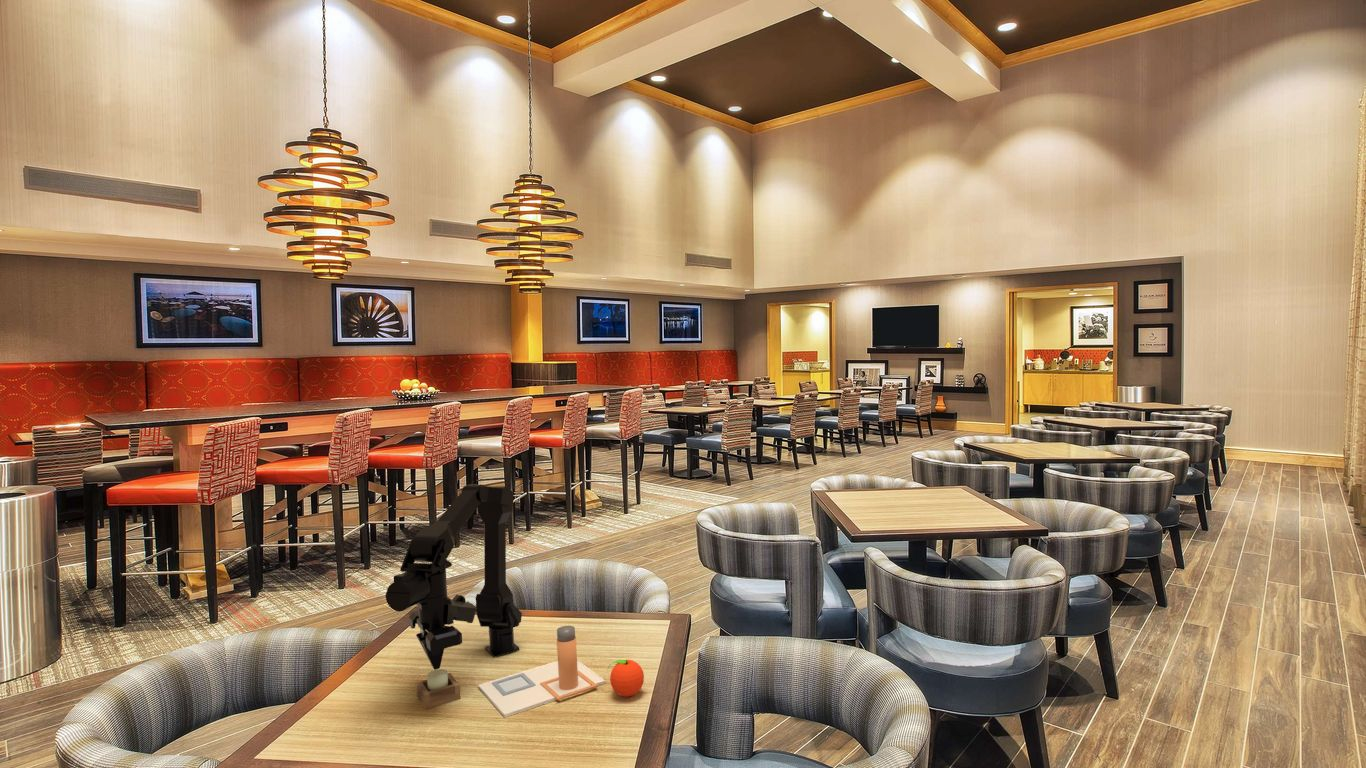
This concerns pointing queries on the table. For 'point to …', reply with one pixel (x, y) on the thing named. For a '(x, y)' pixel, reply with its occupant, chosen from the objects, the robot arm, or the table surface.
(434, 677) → the button
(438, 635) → the robot arm
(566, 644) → the marker
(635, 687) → the clementine
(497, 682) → the picture sheet
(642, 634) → the table surface
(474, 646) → the table surface
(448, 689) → the button base
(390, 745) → the table surface
